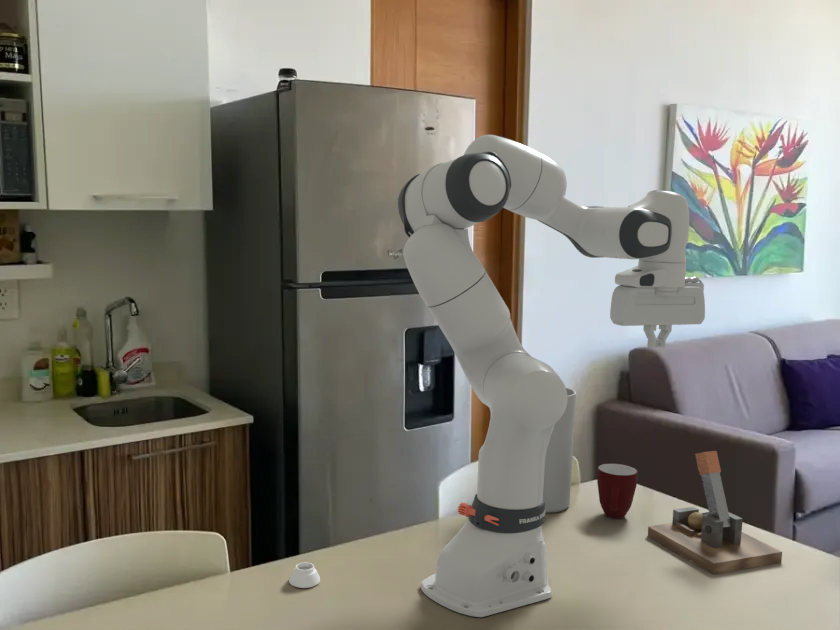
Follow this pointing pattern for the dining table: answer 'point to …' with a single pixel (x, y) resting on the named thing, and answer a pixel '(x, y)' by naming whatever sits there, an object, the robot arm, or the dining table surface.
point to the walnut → (695, 521)
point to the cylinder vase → (560, 460)
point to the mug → (616, 488)
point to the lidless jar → (304, 576)
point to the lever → (713, 486)
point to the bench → (712, 555)
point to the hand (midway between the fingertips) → (656, 347)
